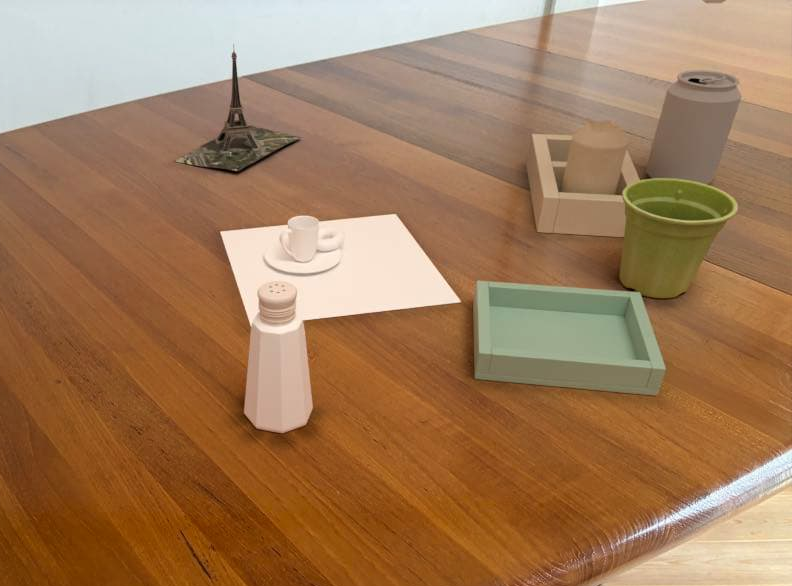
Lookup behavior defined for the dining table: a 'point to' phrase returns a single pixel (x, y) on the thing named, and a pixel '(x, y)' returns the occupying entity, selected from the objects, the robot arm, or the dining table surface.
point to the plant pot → (669, 233)
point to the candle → (595, 159)
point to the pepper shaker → (278, 363)
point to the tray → (565, 338)
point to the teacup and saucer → (337, 266)
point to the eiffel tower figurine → (237, 139)
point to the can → (694, 126)
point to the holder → (572, 208)
